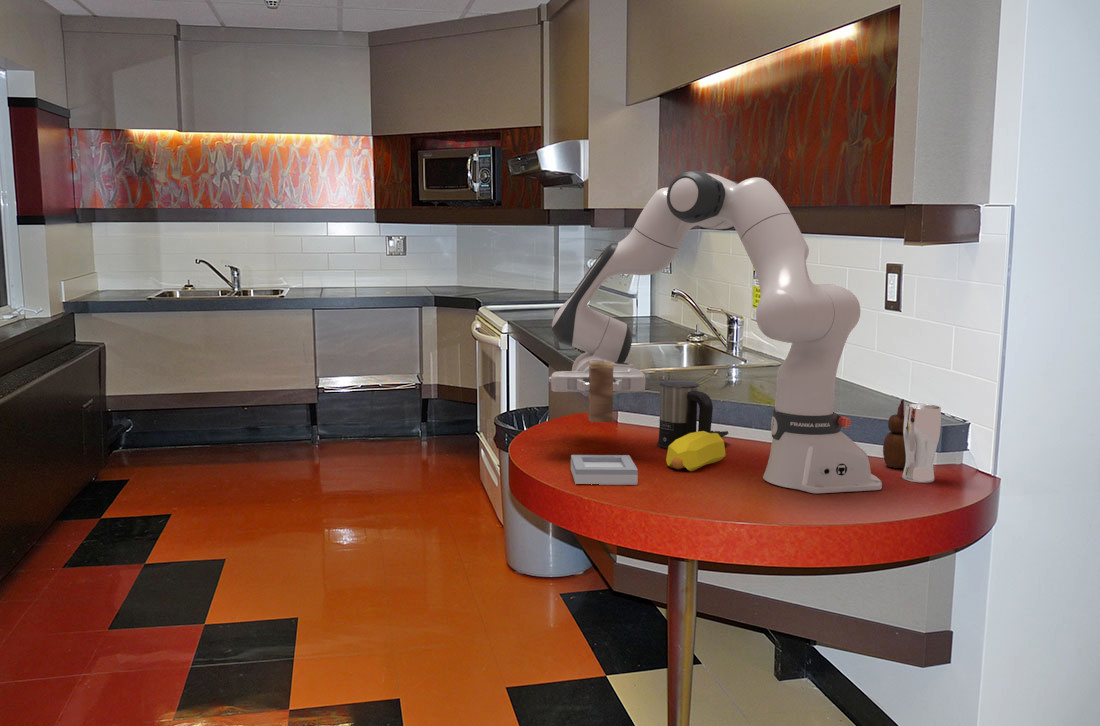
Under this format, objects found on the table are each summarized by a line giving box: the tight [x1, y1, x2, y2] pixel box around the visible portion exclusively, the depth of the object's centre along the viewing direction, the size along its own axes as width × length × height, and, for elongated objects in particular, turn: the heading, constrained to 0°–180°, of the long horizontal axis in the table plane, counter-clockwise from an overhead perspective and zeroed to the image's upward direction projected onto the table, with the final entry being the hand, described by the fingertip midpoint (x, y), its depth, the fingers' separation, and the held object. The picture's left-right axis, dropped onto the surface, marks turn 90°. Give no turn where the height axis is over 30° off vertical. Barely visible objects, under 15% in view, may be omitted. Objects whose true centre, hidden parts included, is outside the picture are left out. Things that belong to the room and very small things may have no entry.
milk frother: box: [657, 380, 729, 450], centre depth 213 cm, size 14×16×15 cm
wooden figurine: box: [882, 398, 905, 469], centre depth 195 cm, size 7×6×15 cm
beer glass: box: [901, 402, 942, 484], centre depth 185 cm, size 7×7×15 cm
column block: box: [587, 362, 614, 423], centre depth 191 cm, size 5×5×12 cm
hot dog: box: [665, 431, 726, 472], centre depth 195 cm, size 18×7×8 cm
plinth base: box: [570, 454, 639, 486], centre depth 183 cm, size 12×12×3 cm
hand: (601, 387), depth 190 cm, fingers closed on column block, 4 cm apart
